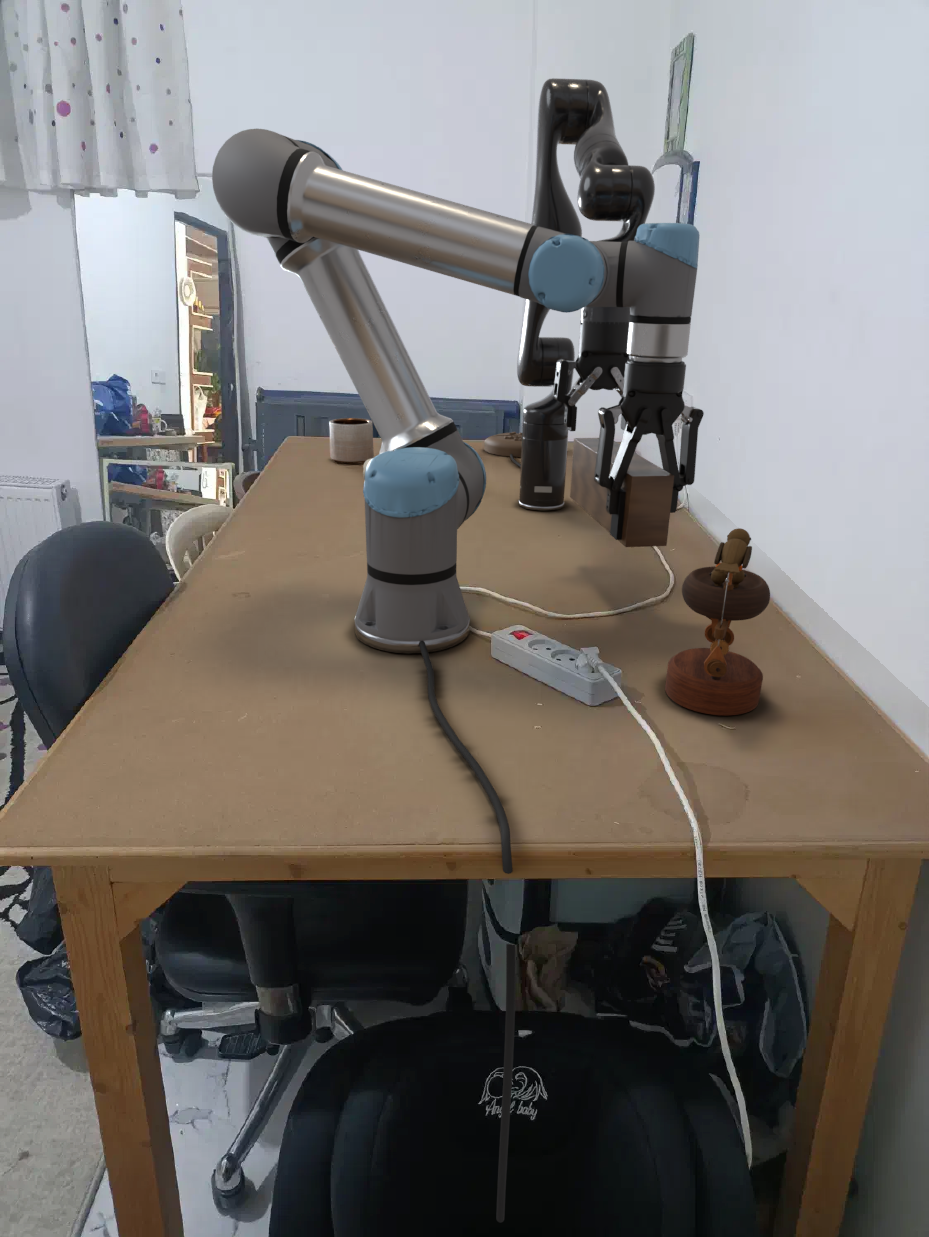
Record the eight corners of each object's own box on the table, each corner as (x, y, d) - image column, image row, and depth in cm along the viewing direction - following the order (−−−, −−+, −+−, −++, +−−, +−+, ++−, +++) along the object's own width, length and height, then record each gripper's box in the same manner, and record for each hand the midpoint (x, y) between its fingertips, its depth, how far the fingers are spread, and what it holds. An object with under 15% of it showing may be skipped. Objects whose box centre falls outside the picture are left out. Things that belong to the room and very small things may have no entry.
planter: (327, 456, 217) (325, 418, 214) (369, 454, 220) (368, 417, 217) (334, 465, 208) (332, 425, 204) (377, 463, 211) (376, 424, 207)
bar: (666, 546, 113) (674, 475, 109) (625, 547, 112) (632, 476, 108) (603, 496, 137) (608, 437, 134) (569, 497, 136) (573, 438, 133)
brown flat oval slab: (489, 466, 209) (490, 449, 208) (482, 444, 235) (482, 429, 234) (574, 466, 210) (575, 449, 209) (557, 445, 236) (558, 430, 234)
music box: (777, 726, 90) (790, 547, 83) (671, 726, 92) (676, 550, 84) (748, 664, 104) (758, 507, 97) (657, 666, 106) (660, 510, 98)
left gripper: (713, 356, 111) (692, 526, 120) (575, 355, 108) (564, 530, 117) (739, 362, 104) (715, 542, 113) (593, 361, 101) (579, 546, 110)
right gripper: (643, 317, 128) (633, 425, 135) (552, 317, 126) (547, 426, 132) (662, 320, 122) (651, 434, 128) (566, 319, 119) (559, 435, 125)
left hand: (638, 536), depth 115 cm, fingers closed on bar, 6 cm apart
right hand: (598, 430), depth 130 cm, fingers open, 8 cm apart
